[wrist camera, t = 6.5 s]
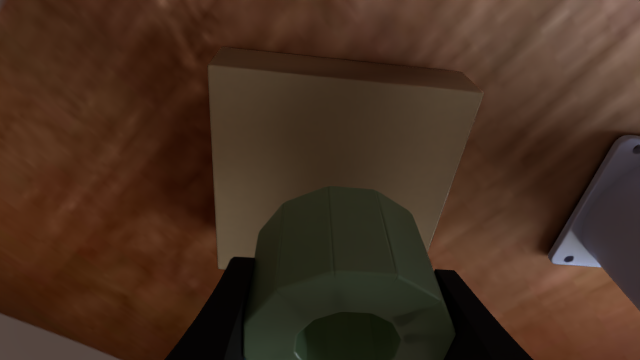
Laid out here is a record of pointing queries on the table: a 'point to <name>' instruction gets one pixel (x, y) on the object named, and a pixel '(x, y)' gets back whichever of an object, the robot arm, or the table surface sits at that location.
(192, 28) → the table surface
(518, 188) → the table surface
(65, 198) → the table surface
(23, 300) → the table surface
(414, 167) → the birch block
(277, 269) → the green ring
